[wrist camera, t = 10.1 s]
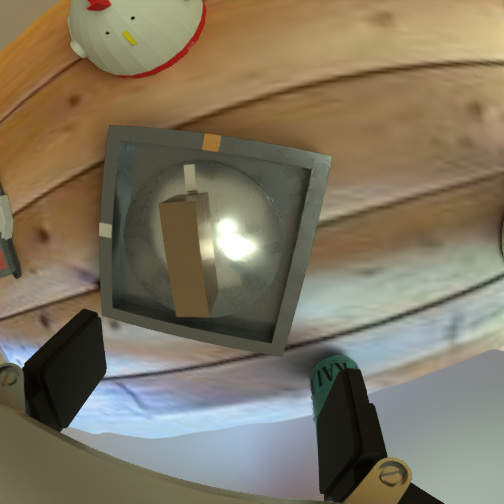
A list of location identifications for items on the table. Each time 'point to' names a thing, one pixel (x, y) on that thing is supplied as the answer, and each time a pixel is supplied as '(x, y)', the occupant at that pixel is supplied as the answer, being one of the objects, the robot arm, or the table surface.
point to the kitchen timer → (135, 33)
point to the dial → (203, 239)
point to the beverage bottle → (327, 379)
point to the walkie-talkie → (7, 240)
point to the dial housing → (259, 170)
